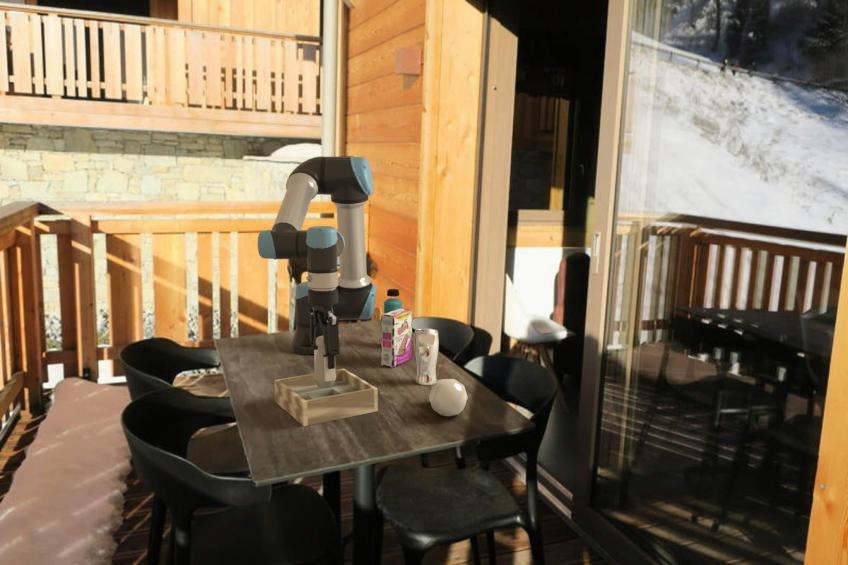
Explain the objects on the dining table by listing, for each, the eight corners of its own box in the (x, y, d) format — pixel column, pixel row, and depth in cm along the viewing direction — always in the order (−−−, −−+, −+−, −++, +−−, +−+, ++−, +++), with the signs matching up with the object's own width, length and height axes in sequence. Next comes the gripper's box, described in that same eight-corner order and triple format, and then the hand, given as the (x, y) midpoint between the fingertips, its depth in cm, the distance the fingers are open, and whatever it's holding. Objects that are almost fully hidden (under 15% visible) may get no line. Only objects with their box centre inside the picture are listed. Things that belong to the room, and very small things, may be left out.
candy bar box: (394, 368, 217) (393, 316, 214) (380, 366, 219) (379, 314, 216) (412, 359, 226) (412, 309, 223) (399, 357, 229) (399, 307, 226)
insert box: (275, 401, 187) (274, 380, 186) (344, 389, 197) (344, 368, 196) (303, 426, 170) (303, 402, 169) (377, 411, 181) (377, 388, 179)
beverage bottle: (385, 344, 245) (384, 287, 241) (404, 344, 244) (404, 287, 240) (381, 349, 238) (381, 290, 235) (401, 350, 238) (400, 291, 234)
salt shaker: (332, 389, 179) (331, 339, 177) (310, 388, 180) (309, 338, 178) (339, 382, 185) (338, 334, 183) (318, 381, 186) (317, 333, 184)
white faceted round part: (444, 428, 173) (440, 413, 188) (477, 405, 173) (470, 392, 188) (422, 398, 172) (420, 385, 187) (455, 374, 172) (449, 364, 187)
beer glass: (426, 376, 209) (426, 327, 206) (443, 381, 204) (443, 331, 201) (409, 381, 204) (409, 331, 201) (426, 387, 199) (426, 335, 197)
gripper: (295, 283, 184) (297, 370, 188) (324, 295, 169) (326, 389, 173) (321, 281, 188) (323, 365, 192) (352, 292, 172) (354, 384, 176)
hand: (324, 376), depth 182 cm, fingers closed on salt shaker, 6 cm apart
